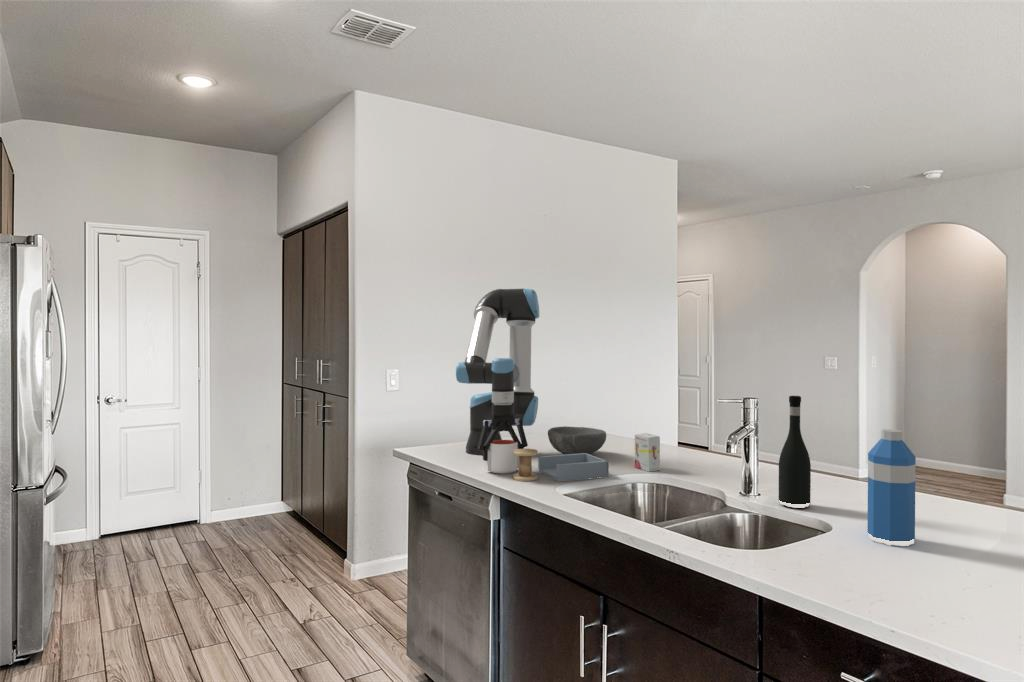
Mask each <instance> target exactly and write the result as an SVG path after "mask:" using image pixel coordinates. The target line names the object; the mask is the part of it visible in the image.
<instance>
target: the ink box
mask: <svg viewBox="0 0 1024 682" xmlns="http://www.w3.org/2000/svg"><path fill="white" fill-rule="evenodd" d="M660 442H661V437H660V436H659V435H656V434H652V433H648V432H645V433H644V432H643V433H637V434H634V468H635V467H636V469H638V470H642V471H646V472H649V473H650V472H658V471H657V470H661V459H660V458H661V455H660V454H661V443H660Z"/></svg>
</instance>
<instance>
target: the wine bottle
mask: <svg viewBox="0 0 1024 682" xmlns="http://www.w3.org/2000/svg"><path fill="white" fill-rule="evenodd" d="M788 402H789V429H788V434H787V437H786V440H785V441H784V444H783V447H782V450H781V452H780V455H779V458H778V459H779V460H778V501H779V500H780V501H782V502H786V503H791V504H806V503H810V504H811V488H812V487H811V484H812V483H811V481H812V478H811V477H812V475H811V467H812V465H811V459H810V454H809V451H808V449H807V446H806V444H805V441H804V439H803V436H802V432H801V403H802V396H801V395H789V396H788Z"/></svg>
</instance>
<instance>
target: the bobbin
mask: <svg viewBox="0 0 1024 682" xmlns="http://www.w3.org/2000/svg"><path fill="white" fill-rule="evenodd" d="M513 454H514V455H517V456H519V469H518V472H517V473H514V474H513V475H512V479H513V480H514V481H516V482H533V481H536V480H537V481H538V479H539V476H538V474H537V473H532V464H533V463H532V461H533V459H532V458H533V456H537V455H538V454H539V451H538V450H537V449H535V448H524V449H515V450H513Z"/></svg>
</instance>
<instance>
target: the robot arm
mask: <svg viewBox="0 0 1024 682" xmlns="http://www.w3.org/2000/svg"><path fill="white" fill-rule="evenodd" d="M539 318H540V304H539V299H538V295H537V291H536V290H534V289H533V288H503V289H502V288H496V289H494V290H493V289H492V290H491V291H489V292H488V293H486V294H485V295H484V296H482V298H481V299H480V300H479V301H478V303H477V304H476V306H475V309H474V311H473V319H474V322H473V327H472V330H471V335H470V339H469V343H468V347H467V350H466V355H465V359H464V361H462V362H458V363H457V365H456V367H455V377H456V381H457V382H458V383H459V384H468V385H469V384H474V385H475V384H479V385H480V384H482V385H483V384H491V392H483V393H478V394H474V395H472V396H471V397H470V400H469V401H470V405H469V420H470V421H469V425H470V427H469V430H470V431H469V436H468V437H467V441H466V445H465V452H466V453H467V454H471V455H477V456H479V455H481V456H482V460H483V462H485V470H486V471H487V472H491V471H490V451H488V449H489V447H490V446H491V443H492V442H493V440H503V438H502V435H501V433H500V432H508V434H509V435H510V437H511V438H512V439H511V440H513V441H514V442H518V449H525V448H527V447H529V444H528V441H527V436H526V433H525V430H524V427H530V426H533V425H534V423H535V422H536V419H537V415H538V410H539V409H538V408H539V397H538V396H537V395H535V390H534V389H533V388H532V387H531V386H532V384H531V383H532V382H531V381H532V378H531V377H532V328H533V326H534V325H535V324H536V319H539ZM499 319H505V323H506V324H507V325H508V326H509V356H508V357H499V358H497V357H495V358H493V359H492V361H491V362H487V358H488V352H489V349H490V344H491V340H492V335H493V330H494V325H495V324H496V323H497V321H498V320H499ZM514 426H515V427H517V431H518V435H517V434H516V432H515V429H514V428H513V427H514ZM518 436H519V437H518ZM517 470H519V456H518V467H517Z"/></svg>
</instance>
